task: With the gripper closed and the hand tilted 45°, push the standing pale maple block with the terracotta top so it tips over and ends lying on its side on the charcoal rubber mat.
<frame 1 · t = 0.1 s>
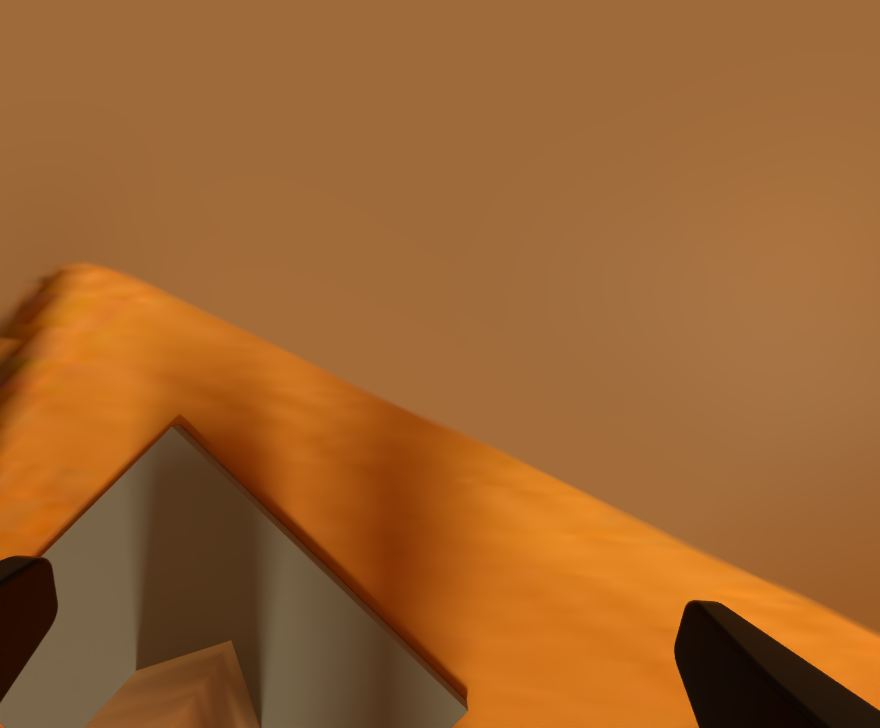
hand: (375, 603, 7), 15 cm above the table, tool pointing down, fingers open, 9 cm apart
rubber mat: (212, 678, 22), on the table
maple block: (198, 701, 21), point 1 cm above the table, touching rubber mat
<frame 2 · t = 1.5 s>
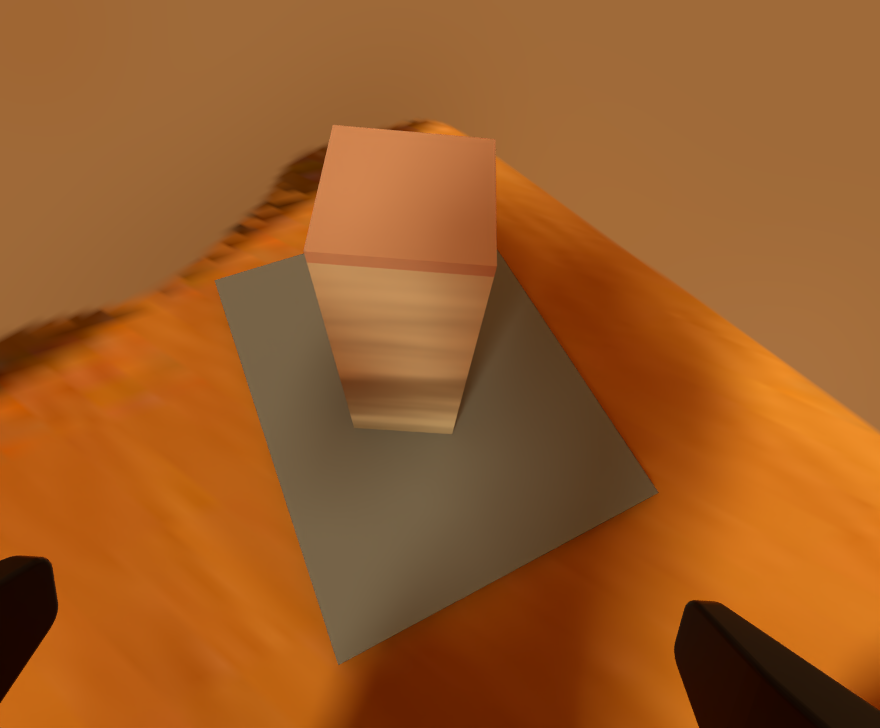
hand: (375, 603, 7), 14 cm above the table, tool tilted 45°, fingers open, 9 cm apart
rubber mat: (418, 383, 23), on the table
maple block: (407, 386, 23), point 1 cm above the table, touching rubber mat
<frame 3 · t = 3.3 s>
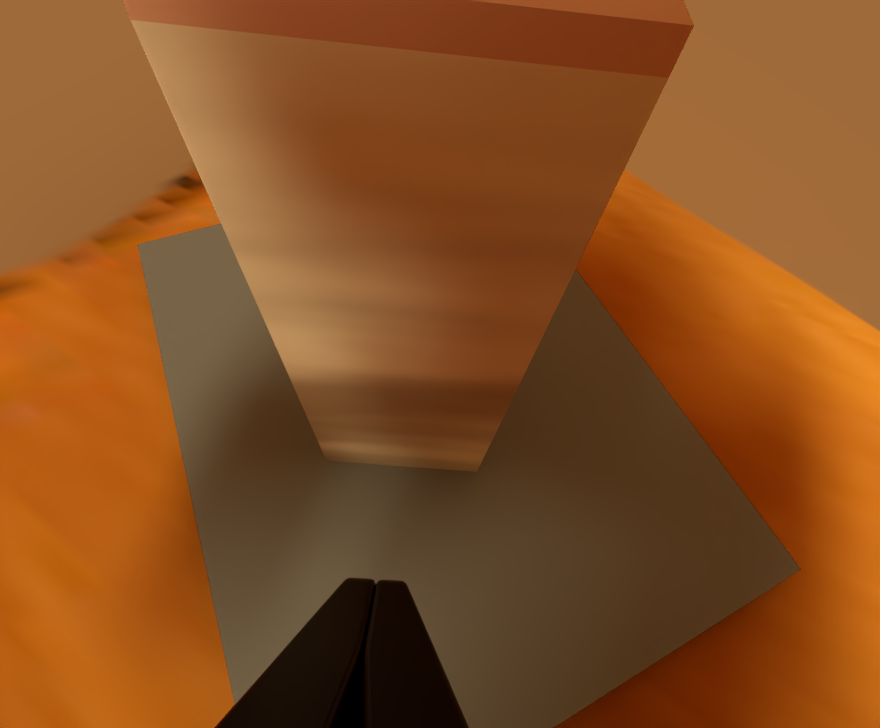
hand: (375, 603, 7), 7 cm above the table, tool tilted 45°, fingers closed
rubber mat: (425, 393, 16), on the table
maple block: (408, 398, 15), point 1 cm above the table, touching rubber mat
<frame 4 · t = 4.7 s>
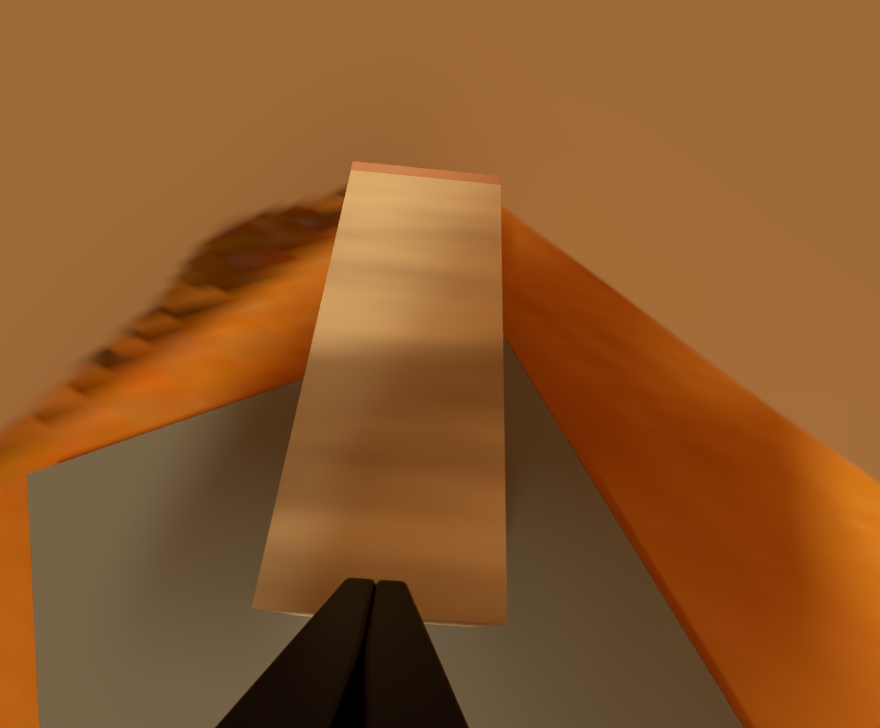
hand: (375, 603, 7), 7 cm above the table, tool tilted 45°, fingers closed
rubber mat: (400, 704, 12), on the table
maple block: (384, 619, 10), point 3 cm above the table, tilted 90°, touching rubber mat
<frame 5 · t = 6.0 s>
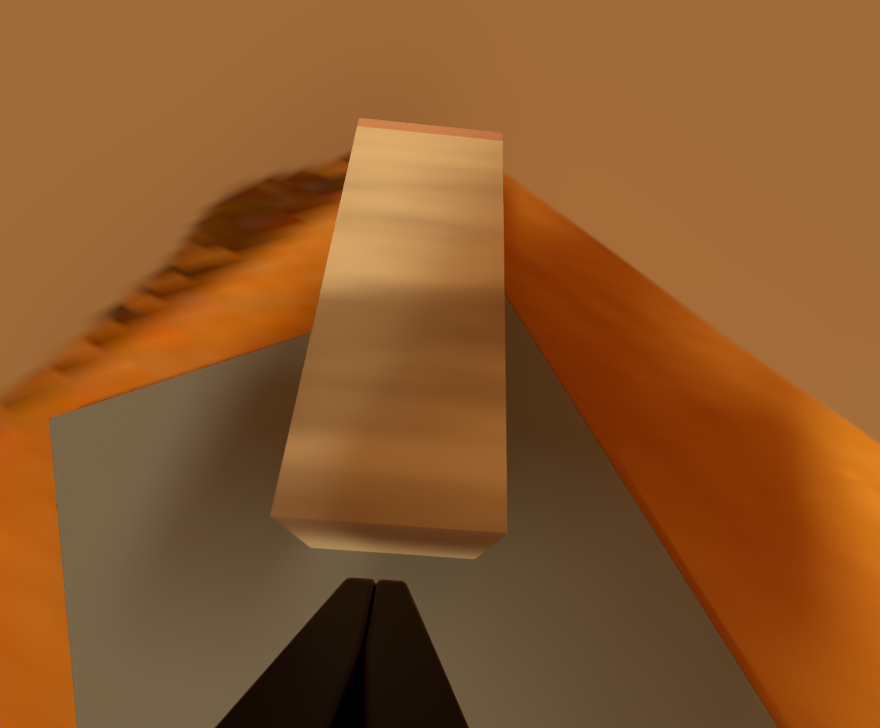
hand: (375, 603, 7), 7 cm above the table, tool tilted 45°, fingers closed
rubber mat: (406, 629, 12), on the table
maple block: (392, 541, 11), point 3 cm above the table, tilted 90°, touching rubber mat
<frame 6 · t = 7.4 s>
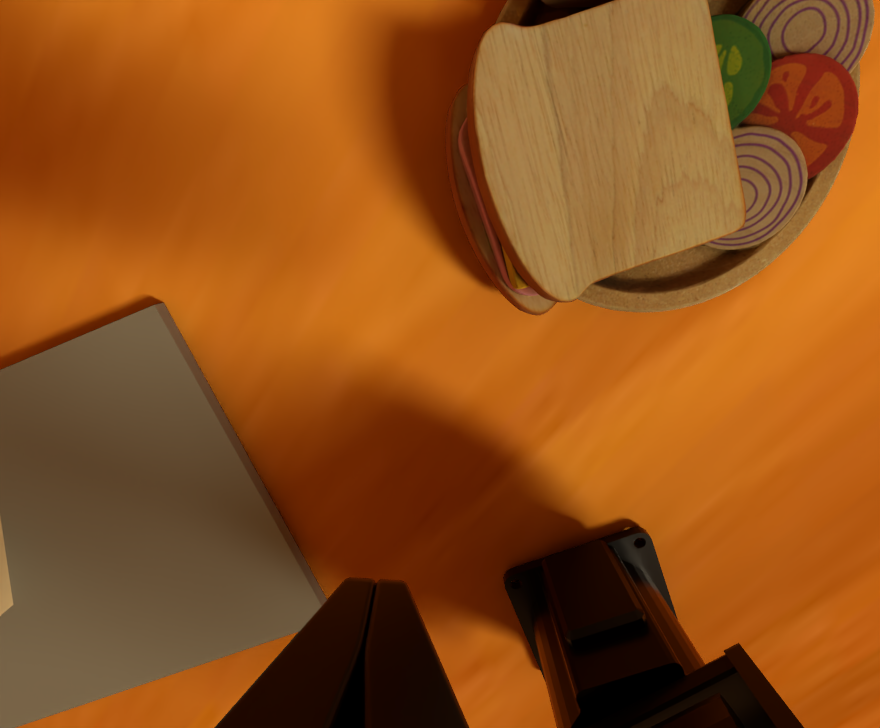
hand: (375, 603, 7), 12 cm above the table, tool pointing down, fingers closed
rubber mat: (60, 544, 20), on the table
toy sandwich meal: (633, 147, 17), on the table
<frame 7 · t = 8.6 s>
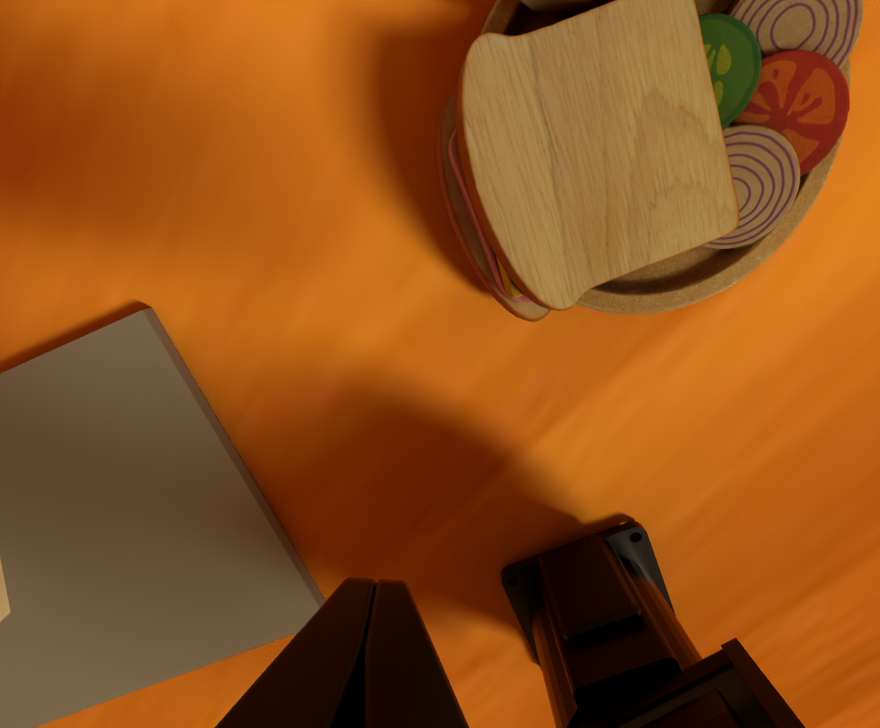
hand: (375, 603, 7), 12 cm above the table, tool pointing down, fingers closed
rubber mat: (55, 551, 20), on the table
toy sandwich meal: (624, 148, 17), on the table
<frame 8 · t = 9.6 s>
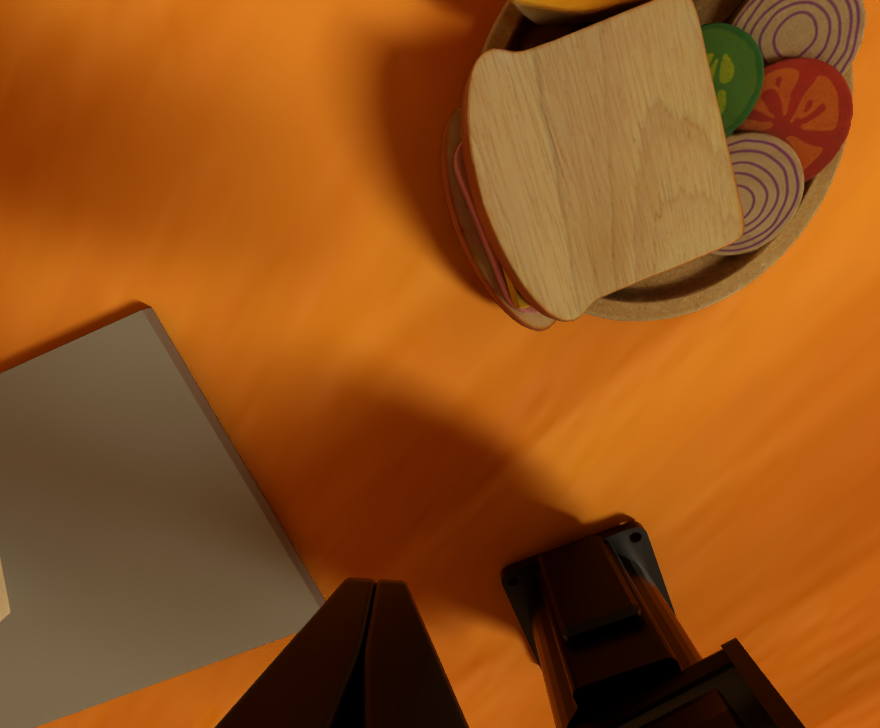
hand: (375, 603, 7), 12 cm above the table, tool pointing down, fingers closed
rubber mat: (55, 551, 20), on the table
toy sandwich meal: (628, 156, 17), on the table
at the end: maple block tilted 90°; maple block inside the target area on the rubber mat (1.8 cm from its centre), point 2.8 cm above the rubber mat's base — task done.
